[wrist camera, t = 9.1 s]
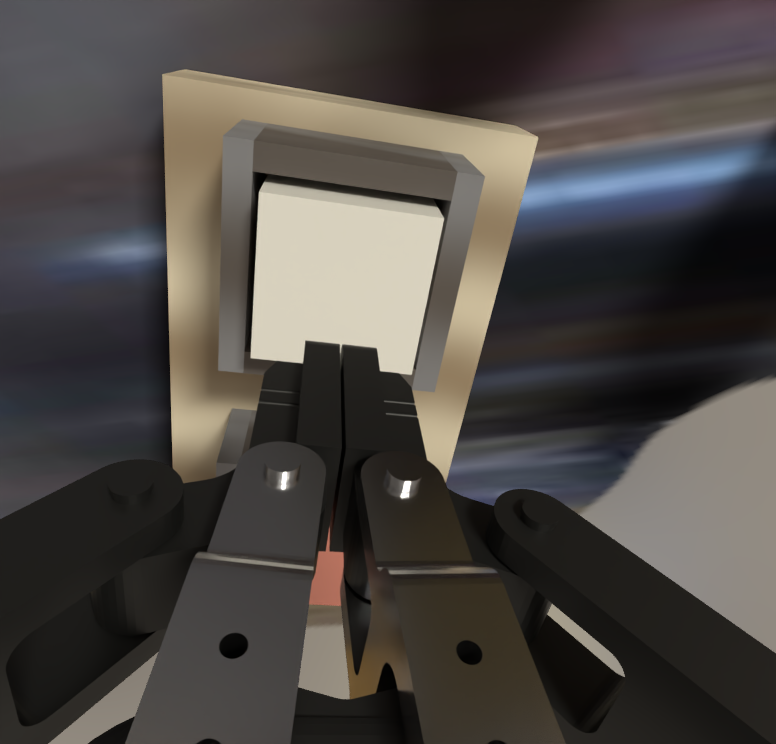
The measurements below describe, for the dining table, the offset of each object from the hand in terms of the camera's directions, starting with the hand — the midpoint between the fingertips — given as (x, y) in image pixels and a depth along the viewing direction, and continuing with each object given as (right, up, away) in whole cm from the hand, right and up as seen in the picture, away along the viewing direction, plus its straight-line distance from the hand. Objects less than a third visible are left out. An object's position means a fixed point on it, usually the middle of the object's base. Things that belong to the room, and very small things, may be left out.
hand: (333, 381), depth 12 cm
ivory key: (0, +4, +7) cm, 8 cm away
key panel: (-2, +1, +14) cm, 14 cm away
